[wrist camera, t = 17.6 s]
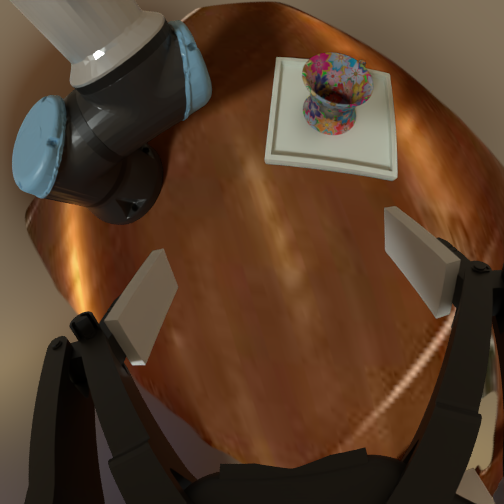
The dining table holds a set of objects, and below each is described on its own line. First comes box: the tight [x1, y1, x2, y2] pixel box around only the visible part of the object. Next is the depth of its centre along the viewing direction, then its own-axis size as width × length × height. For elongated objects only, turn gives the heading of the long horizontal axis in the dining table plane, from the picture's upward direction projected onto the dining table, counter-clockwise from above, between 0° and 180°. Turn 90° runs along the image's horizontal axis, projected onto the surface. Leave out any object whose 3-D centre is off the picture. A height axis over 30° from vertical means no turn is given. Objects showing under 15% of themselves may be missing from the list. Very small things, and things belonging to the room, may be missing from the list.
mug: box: [302, 53, 374, 135], centre depth 34 cm, size 12×9×11 cm
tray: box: [265, 57, 397, 181], centre depth 39 cm, size 20×20×2 cm
